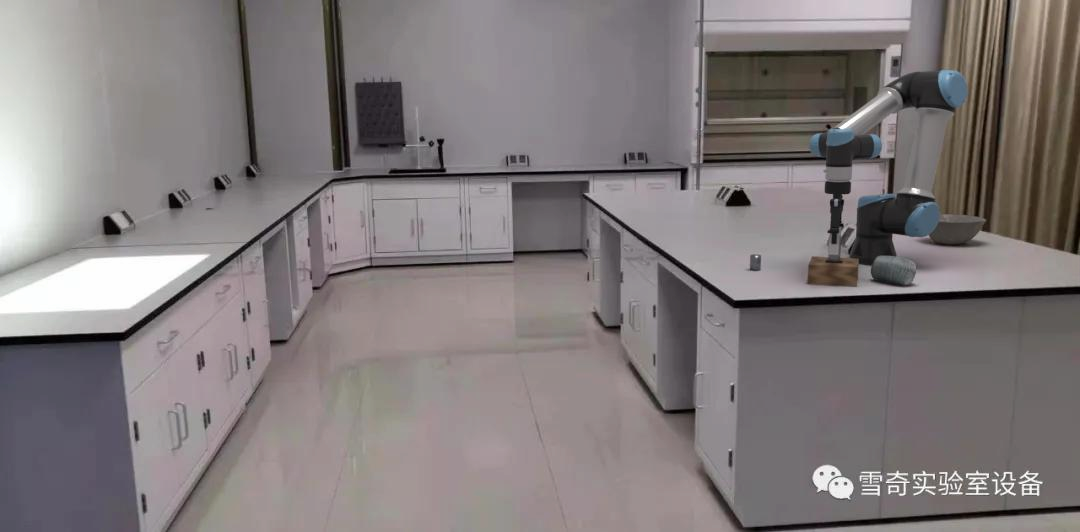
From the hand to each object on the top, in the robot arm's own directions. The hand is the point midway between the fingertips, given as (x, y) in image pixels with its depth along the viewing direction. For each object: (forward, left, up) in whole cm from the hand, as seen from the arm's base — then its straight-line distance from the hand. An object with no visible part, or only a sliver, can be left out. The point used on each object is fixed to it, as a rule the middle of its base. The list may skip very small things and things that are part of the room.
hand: (834, 251), depth 251 cm
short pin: (+25, -10, -9) cm, 28 cm away
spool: (-17, -2, -10) cm, 20 cm away
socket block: (0, 0, -9) cm, 9 cm away
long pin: (0, 0, -9) cm, 9 cm away
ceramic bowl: (-38, -81, -10) cm, 90 cm away
